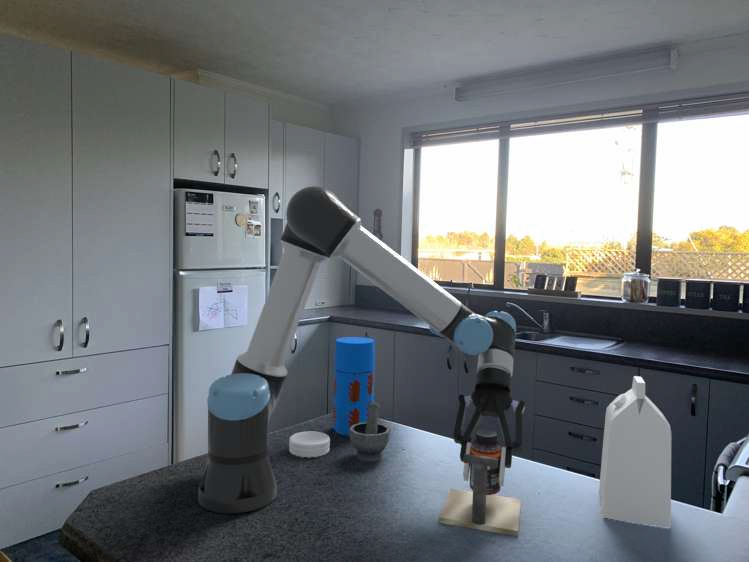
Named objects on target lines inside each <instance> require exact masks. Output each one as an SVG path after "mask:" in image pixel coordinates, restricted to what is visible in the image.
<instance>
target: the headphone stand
mask: <svg viewBox="0 0 749 562" xmlns="http://www.w3.org/2000/svg"><path fill="white" fill-rule="evenodd" d="M463 463H468V464H474V475H473V490H471V491H469V490H464V489H457V488H450V491H449V493H448V495H447V498H446V499H445V503H444V506H443V508H442V511H441V513H440V514H439V515H440V516H439V519H438V521H439V523H440V524H445V525H451V526H457V527H460V528H461V527H462V528H467V529H473V530H479V531H485V532H490V533H496V534H501V535H502V534H503V535H506V536H508V535H509V536H513V537H518V536H519V530H520V529H519V527H520V526H519V525H520V516H521V506H522V499H521V498H515V497H509V496H501V495H496V494H493V495H486V489H487V466H489V467H496V468H498V458H492V457H484V456H477V455H470V454H464V462H463Z"/></svg>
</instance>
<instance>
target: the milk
mask: <svg viewBox="0 0 749 562" xmlns="http://www.w3.org/2000/svg"><path fill="white" fill-rule="evenodd" d="M604 416H605V418H604V419H605V420H604V431H603V441H602V451H601V461H600V462H601V464H600V465H601V466H600V477H599V487H598V495H599V496H598V497H599V503H600V502H601V503H600V508H601V514H602V515H603V516H602V519H604V518H609V519H608V520H610V519H615V520H614V521H616V520H621V521H620V522H622V521H630V522H635V523H640V524H648V525H656V526H662V527H670V528H672V527H671V525H672V524H671V523H672V522H671V521H672V518H671V517H672V516H671V515H672V514H671V513H672V429H671V424H670V423H669V421H668V420H667V418H666V416H665V415H664V413H663V412H662V411H661V410H660V409H659V408H658V407H657V406H656V404H655V403H653V401H652V400H651V399H650V398H649V397H647V395H646V382H645V380H644V379H643V377H642V376H638V375H634V376H633V378H632V385H631V388H630V389H629V390H627V391H626V392H625V393H621V394H619V395H617V397H615V398H614V400H613V401H611V402H610V404H609V405H608V406H607V407H606V410H605V415H604ZM640 524H639V525H640Z"/></svg>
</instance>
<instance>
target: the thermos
mask: <svg viewBox="0 0 749 562" xmlns="http://www.w3.org/2000/svg"><path fill="white" fill-rule="evenodd" d="M334 345H335V347H334V348H335V349H334V383H333V384H334V387H333V389H334V390H333V392H334V393H333V396H334V397H333V431H334V430H335V431H336V432H337V433H339V434H342V435H341V436H343V435H348V436H347V437H350V435H349V433H350V428H351V426H352V425H355V424H359V423H367V419H368V413H369V404H370V403H374V402H375V401H374V397H375V395H374V394H375V393H374V391H375V362H376V361H375V356H376V355H375V354H376V344H375V340H374V339H372V338H369V337H360V336H348V337H340V338H336V340H335V344H334ZM335 431H334V432H335ZM336 432H335V433H336ZM337 433H336V434H337ZM339 434H338V435H339Z"/></svg>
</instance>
